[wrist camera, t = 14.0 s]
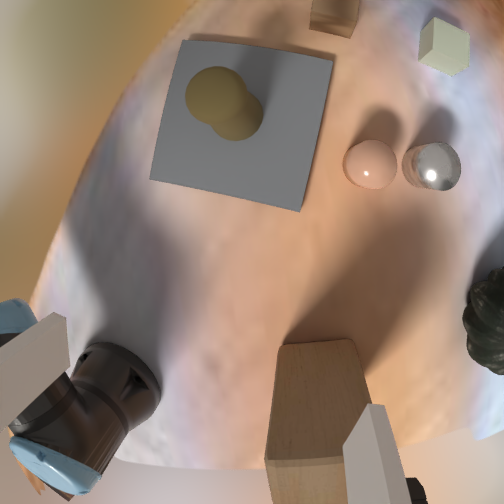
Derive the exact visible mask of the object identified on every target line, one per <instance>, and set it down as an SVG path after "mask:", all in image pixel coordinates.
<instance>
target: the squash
mask: <svg viewBox="0 0 504 504" xmlns="http://www.w3.org/2000/svg"><path fill="white" fill-rule="evenodd" d="M470 297H471V303H469V304H468V305H467V306H466V308H465V310H464V313H463V317H462V319H463V324H464V327H465V329H466V331H467V333H468V334H467V350H468V353H469V355H470V356H471V358H472V359H473V360H475V361H476V362H477V363H478V364H480V365H482V366H484V367H487V368H488V369H489V370H490V371H492V372H493V373H495V374H498V375H504V266H503V268H502V269H498V268H497V269H494V270H492V271H491V273H490V274H489V276H488V279H487V281H481V282H478V283H476V284H475V285H473V286H472V288H471V293H470Z"/></svg>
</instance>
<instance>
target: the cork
mask: <svg viewBox="0 0 504 504" xmlns="http://www.w3.org/2000/svg"><path fill="white" fill-rule="evenodd" d="M185 101H186V106H187V108H188V110H189V111H190V113H191V114H192V115H193V116H194V117H195V118H196V119H197V120H199V121H201V122H203V123H205V124H209V125H211V127H212V128H213V130H214V131H215V132H216V133H217V134H218V135H219V136H220V137H222V138H224V139H226V140H230V141H240V140H245V139H247V138H249V137H251V136H252V135H253V134H254V133H255V132H257V131H258V129H259V127H260V125H261V124H262V120H263V109H262V105H261V104H260V102H259V100H258V99H257V98H256V97H255V96H254V95H253V94H251V93H250V92H248V91H247V86H246V84H245V82H244V81H243V79H242V77H241V76H240V75H239V74H238V73H236V72H235V71H234V70H231V69H229V68H226V67H223V66H213V67H208V68H205V69H203V70H201V71H200V72H198V73H197V74H196V75H195V76H194V77H193V78H192V79H191V80H190V82H189V84H188V85H187V87H186V92H185Z"/></svg>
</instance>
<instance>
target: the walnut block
mask: <svg viewBox="0 0 504 504" xmlns="http://www.w3.org/2000/svg"><path fill="white" fill-rule="evenodd" d="M359 1H360V0H313V3H312V8H311V16H310V27H309V29H311V30H315V31H320V32H325V33H329V34H333V35H338V36H342V37H346V38H349V39H350V37H351V35H352V32H353V30H354V27H355V25H356V22H357V16H358V9H359Z"/></svg>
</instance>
